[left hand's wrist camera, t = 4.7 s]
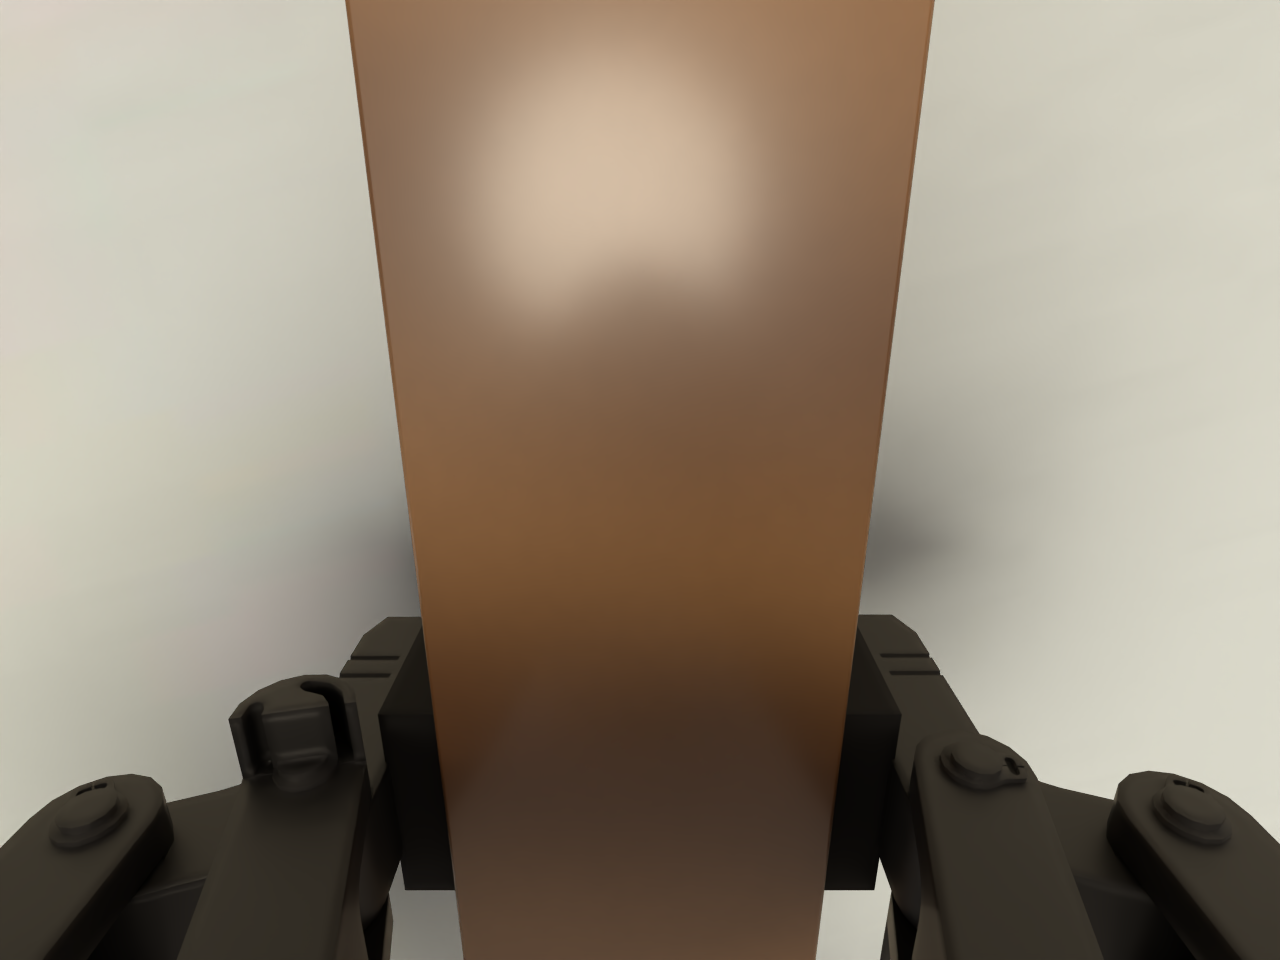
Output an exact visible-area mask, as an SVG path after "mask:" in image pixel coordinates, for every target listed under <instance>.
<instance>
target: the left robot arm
mask: <svg viewBox="0 0 1280 960" xmlns="http://www.w3.org/2000/svg"><path fill="white" fill-rule="evenodd" d="M229 723H230V727H231V732H232V736H233V740H234V744H235V748H236V752H237V756H238V760H239V764H240V768H241V772H242V776H243V780H242V783H241V784H240V785H237V786H234V787H230V788H227V789H224V790H221V791H217V792H212V793H208V794H204V795H199V796H195V797H191V798H186V799H182V800H178V801H173V802H169V803H166V799H165V796H164V793H163V789H162V787H161V786H160V785H159V784H158V783H157V782H156V781H154V780H153V779H152V778H151V777H146V776H140V775H135V774H127V775H119V776H110V777H105V778H102V779H99V780H96V781H93V782H90V783H87V784H84V785H81V786H78V787H77V788H75V789H73V790H71V791H69V792H67V793H65V794H64V795H62V796H60V797H58V798H56V799H54V800H52V801H51V802H50V803H49V804H47V805H46V806H45V807H44V808H42V809H41V810H40V811H39V812H37V813H36V814H35V815H34V816H32V817H31V818H30V819H29V820H28V821H27V822H26V823H25V824H24V825H23V826H22V827H21V828H20V829H19V830H18V831H17V832H16V833H15V834H14V835H13V836H12V837H11V838H10V839H9V840H8V841H7V842H6V843H5V844H4V845H3V846H2V847H1V848H0V960H390V952H391V941H392V929H393V917H392V910H391V904H390V898H389V890H390V887H391V884H392V882H393V879H394V876H395V873H396V870H397V868H398V865H399V862H400V860H401V866H402V872H403V879H404V885H405V890H455V885H454V876H453V868H452V860H451V852H450V844H449V836H448V828H447V820H446V812H445V804H444V796H443V787H442V779H441V771H440V763H439V755H438V747H437V739H436V731H435V723H434V715H433V707H432V698H431V690H430V682H429V674H428V666H427V658H426V650H425V642H424V634H423V626H422V618H421V617H387V618H386V619H385V620H383V621H382V622H381V623H379V624H378V625H376V626H375V627H374V628H372V629H371V630H370V631H368V632H367V633H366V634H364V635H363V637H362V639H361V640H360V642H359V643H358V645H357V647H356V648H355V650H354V652H353V653H352V655H351V660H348V661H347V663H346V664H345V666H344V668H343V669H342V671H341V672H340V678H337V677H333V676H329V675H303V676H298V677H294V678H289V679H285V680H281V681H278V682H276V683H274V684H272V685H269V686H267V687H265V688H263V689H260V690H258V691H257V692H255V693H254V694H253V695H251V696H250V697H248V698H247V699H246V700H244V701H243V702H242V703H240V704H239V705H238V707H237V708H236V710H235V711H234V712H233V714H232V715H231V716H230V718H229ZM879 857H880V860H881V863H882V865H883V868H884V871H885V874H886V876H887V879H888V882H889V885H890V888H891V890H892V892H891V898H890V904H889V909H888V915H887V921H886V927H885V933H884V939H883V945H882V951H881V958H880V960H1280V844H1279V843H1278V842H1277V841H1276V840H1275V839H1274V838H1273V837H1272V836H1271V835H1270V834H1269V833H1268V832H1267V831H1266V830H1265V829H1264V828H1263V827H1262V826H1261V825H1260V824H1259V823H1258V822H1257V821H1256V820H1255V819H1254V818H1253V817H1252V816H1251V815H1250V814H1249V813H1247V812H1246V811H1245V810H1244V809H1242V808H1241V807H1240V806H1239V805H1237V804H1236V803H1235V802H1234V801H1232V800H1231V799H1230V798H1229V797H1227V796H1225V795H1223V794H1221V793H1219V792H1217V791H1215V790H1214V789H1212V788H1210V787H1208V786H1206V785H1204V784H1202V783H1200V782H1197V781H1194V780H1191V779H1188V778H1185V777H1182V776H1179V775H1176V774H1171V773H1163V772H1155V771H1145V772H1139V773H1134V774H1129V775H1128V776H1127V777H1126V778H1125V779H1124V780H1122V781H1121V782H1120V783H1119V784H1118V787H1117V791H1116V794H1115V797H1114V800H1111V799H1107V798H1102V797H1098V796H1094V795H1089V794H1085V793H1080V792H1076V791H1072V790H1067V789H1063V788H1059V787H1056V786H1053V785H1049V784H1046V783H1043V782H1040V781H1038V779H1037V777H1036V775H1035V774H1034V772H1033V771H1032V769H1031V768H1030V766H1029V764H1028V763H1027V761H1025V760H1024V759H1023V758H1022V757H1021V756H1019V755H1018V754H1017V753H1016V752H1015V751H1013V750H1012V749H1011V748H1010V747H1008V746H1006V745H1004V744H1002V743H1000V742H998V741H996V740H994V739H992V738H990V737H988V736H985V735H981V734H979V732H978V731H977V729H976V728H975V726H974V724H973V723H972V721H971V720H970V718H969V716H968V715H967V713H966V712H965V710H964V708H963V707H962V705H961V704H960V702H959V700H958V699H957V697H956V696H955V694H954V692H953V691H952V689H951V688H950V686H949V684H948V683H947V681H946V680H945V678H944V676H943V675H940V670H939V668H938V667H937V665H936V664H935V662H934V660H933V659H932V658H929V652H928V651H927V649H926V648H925V646H924V645H923V643H922V641H921V640H920V638H919V637H918V635H917V633H916V632H915V631H913V630H912V629H910V628H909V627H908V626H906V625H905V624H904V623H902V622H901V621H900V620H898V619H897V618H896V617H894V616H893V615H858V622H857V630H856V638H855V646H854V654H853V662H852V670H851V678H850V686H849V694H848V702H847V710H846V718H845V726H844V734H843V742H842V750H841V758H840V766H839V775H838V783H837V791H836V799H835V807H834V815H833V823H832V831H831V839H830V847H829V855H828V863H827V871H826V879H825V887H824V890H874V889H875V882H876V876H877V870H878V863H879Z"/></svg>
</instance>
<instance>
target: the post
mask: <svg viewBox="0 0 1280 960" xmlns="http://www.w3.org/2000/svg"><path fill="white" fill-rule="evenodd" d="M934 2H935V0H345V3H346V11H347V19H348V27H349V35H350V43H351V51H352V59H353V67H354V75H355V84H356V92H357V100H358V108H359V116H360V124H361V132H362V140H363V148H364V156H365V164H366V173H367V181H368V189H369V197H370V205H371V213H372V221H373V229H374V237H375V245H376V253H377V262H378V270H379V278H380V286H381V294H382V302H383V310H384V318H385V326H386V334H387V342H388V351H389V359H390V367H391V375H392V383H393V391H394V399H395V407H396V415H397V423H398V431H399V440H400V448H401V456H402V464H403V472H404V480H405V488H406V496H407V504H408V512H409V520H410V529H411V537H412V545H413V553H414V561H415V569H416V577H417V585H418V593H419V601H420V609H421V618H422V626H423V634H424V642H425V650H426V658H427V666H428V674H429V682H430V690H431V698H432V707H433V715H434V723H435V731H436V739H437V747H438V755H439V763H440V771H441V779H442V787H443V796H444V804H445V812H446V820H447V828H448V836H449V844H450V852H451V860H452V868H453V876H454V885H455V893H456V901H457V909H458V917H459V925H460V933H461V941H462V949H463V957H464V960H816V952H817V944H818V936H819V927H820V919H821V911H822V903H823V895H824V887H825V879H826V871H827V863H828V855H829V847H830V839H831V831H832V823H833V815H834V807H835V799H836V791H837V783H838V775H839V766H840V758H841V750H842V742H843V734H844V726H845V718H846V710H847V702H848V694H849V686H850V678H851V670H852V662H853V654H854V646H855V638H856V630H857V622H858V614H859V606H860V597H861V589H862V581H863V573H864V565H865V557H866V549H867V541H868V533H869V525H870V517H871V509H872V501H873V493H874V485H875V477H876V469H877V461H878V453H879V445H880V436H881V428H882V420H883V412H884V404H885V396H886V388H887V380H888V372H889V364H890V356H891V348H892V340H893V332H894V324H895V316H896V308H897V300H898V292H899V284H900V276H901V267H902V259H903V251H904V243H905V235H906V227H907V219H908V211H909V203H910V195H911V187H912V179H913V171H914V163H915V155H916V147H917V139H918V131H919V123H920V115H921V106H922V98H923V90H924V82H925V74H926V66H927V58H928V50H929V42H930V34H931V26H932V18H933V10H934Z"/></svg>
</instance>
